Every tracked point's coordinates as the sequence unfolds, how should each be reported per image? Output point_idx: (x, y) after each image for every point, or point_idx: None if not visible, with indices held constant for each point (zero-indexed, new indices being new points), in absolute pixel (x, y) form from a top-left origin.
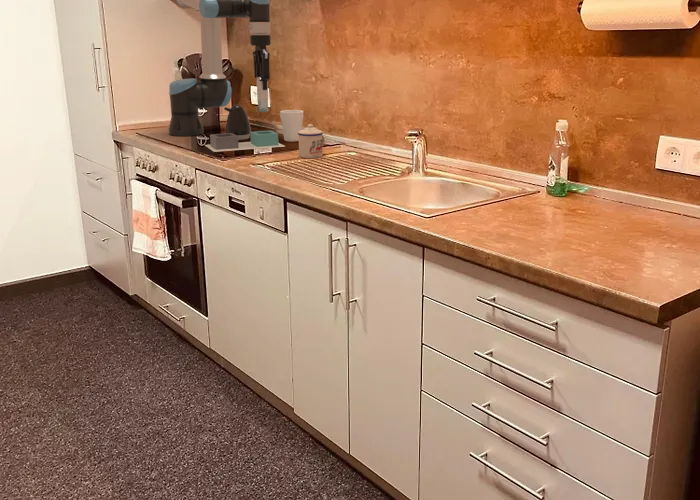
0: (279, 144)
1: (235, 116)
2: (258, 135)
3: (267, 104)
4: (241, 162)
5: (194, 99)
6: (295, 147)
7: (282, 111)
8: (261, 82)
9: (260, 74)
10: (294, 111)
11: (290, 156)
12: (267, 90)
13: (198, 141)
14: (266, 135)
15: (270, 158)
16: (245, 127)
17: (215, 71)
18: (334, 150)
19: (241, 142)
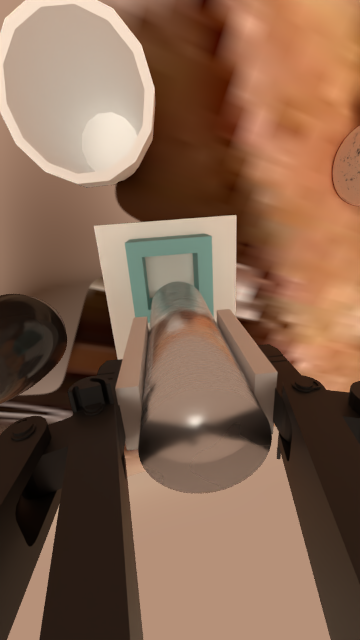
0: (194, 226)
1: (26, 381)
2: (212, 310)
3: (202, 299)
4: (338, 364)
5: None
6: (195, 164)
7: (44, 158)
8: (269, 421)
9: (121, 472)
10: (14, 55)
11: (334, 231)
12: (247, 335)
13: (4, 420)
14: (212, 281)
15: (330, 292)
16: (47, 327)
17: None
18: (318, 20)
19: (116, 333)
